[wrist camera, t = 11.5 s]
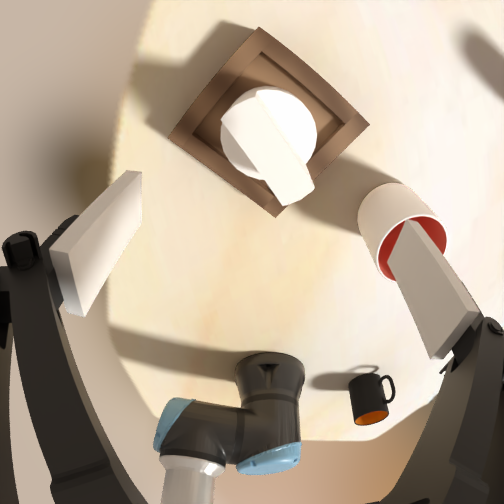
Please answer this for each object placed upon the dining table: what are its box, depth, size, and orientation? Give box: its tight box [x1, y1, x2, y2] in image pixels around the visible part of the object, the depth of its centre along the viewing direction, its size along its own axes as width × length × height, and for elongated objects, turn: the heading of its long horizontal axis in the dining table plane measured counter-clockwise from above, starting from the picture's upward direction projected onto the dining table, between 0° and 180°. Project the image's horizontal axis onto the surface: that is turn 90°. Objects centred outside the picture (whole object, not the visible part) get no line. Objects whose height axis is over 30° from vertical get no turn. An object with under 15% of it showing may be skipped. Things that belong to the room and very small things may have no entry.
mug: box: [348, 373, 395, 426], centre depth 61 cm, size 8×12×10 cm
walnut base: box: [168, 27, 370, 218], centre depth 32 cm, size 16×16×4 cm
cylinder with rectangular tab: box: [221, 86, 317, 206], centre depth 27 cm, size 9×9×12 cm
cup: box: [357, 183, 448, 283], centre depth 36 cm, size 10×10×10 cm
